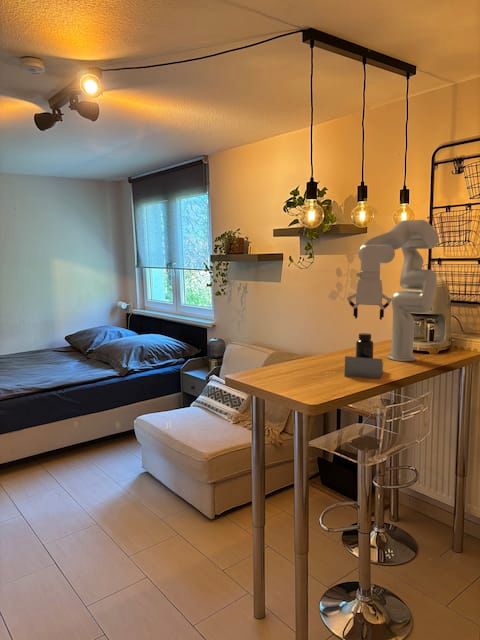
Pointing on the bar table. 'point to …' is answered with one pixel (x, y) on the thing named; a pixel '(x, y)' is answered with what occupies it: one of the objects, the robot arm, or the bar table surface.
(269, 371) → the bar table surface
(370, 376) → the shelf block
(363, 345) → the supplement bottle
